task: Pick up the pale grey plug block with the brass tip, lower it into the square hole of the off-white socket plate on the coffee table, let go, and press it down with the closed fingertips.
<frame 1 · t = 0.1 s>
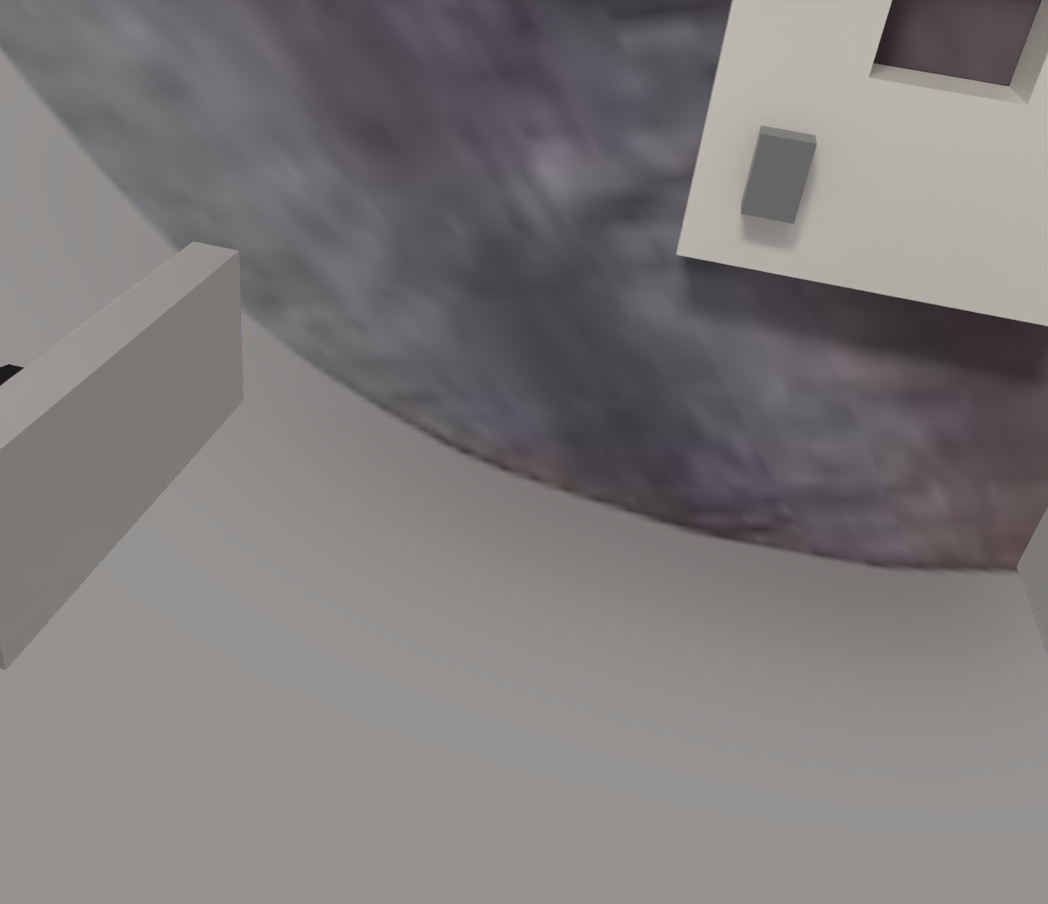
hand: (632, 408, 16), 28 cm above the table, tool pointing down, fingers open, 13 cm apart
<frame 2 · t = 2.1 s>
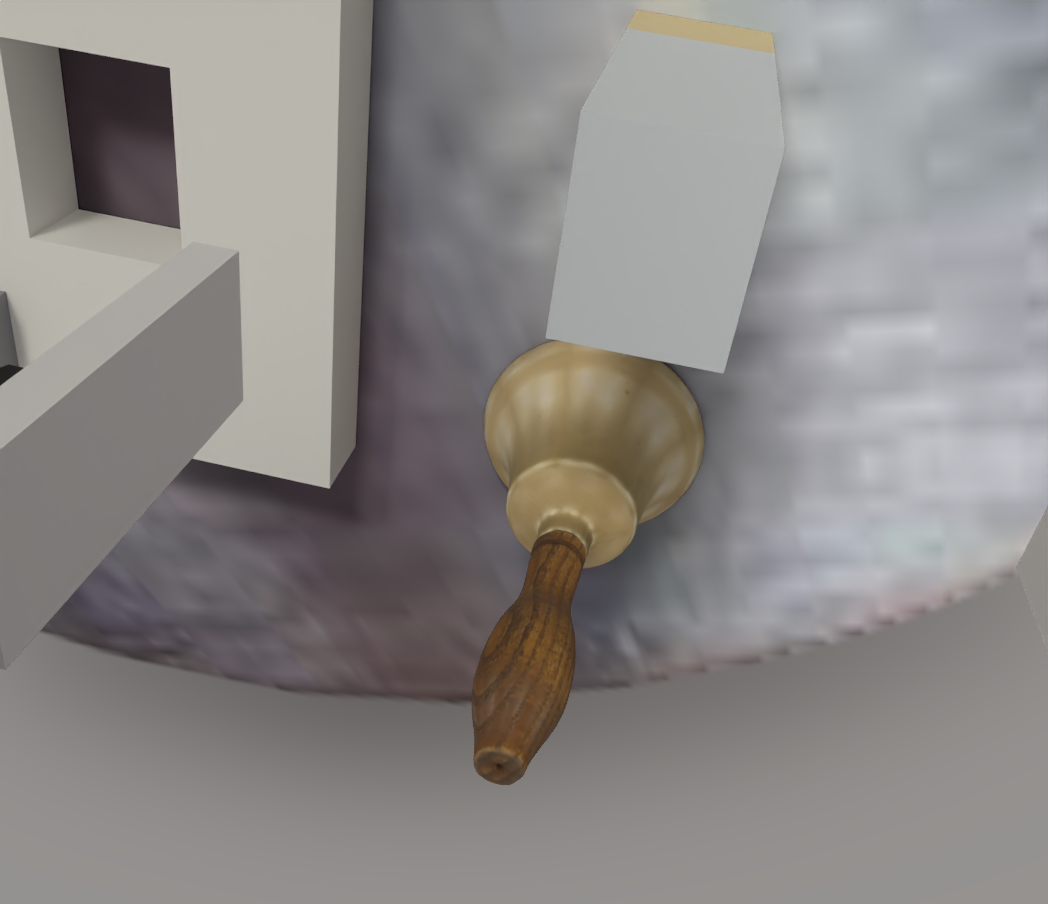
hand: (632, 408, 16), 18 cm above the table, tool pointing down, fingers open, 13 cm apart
hand bell: (592, 432, 38), on the table
socket plate: (142, 133, 34), on the table
plug: (685, 108, 31), on the table
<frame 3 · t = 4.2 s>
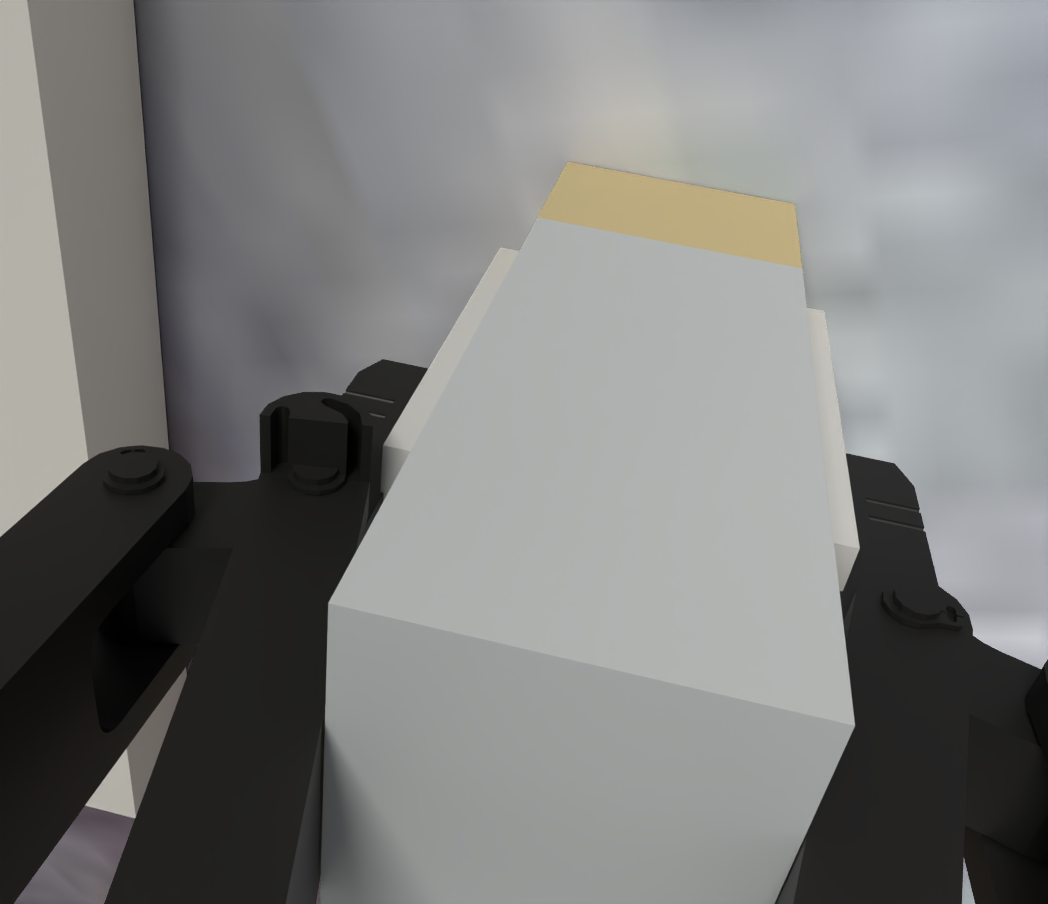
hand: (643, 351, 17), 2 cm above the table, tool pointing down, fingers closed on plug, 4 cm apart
plug: (651, 312, 19), on the table, touching gripper
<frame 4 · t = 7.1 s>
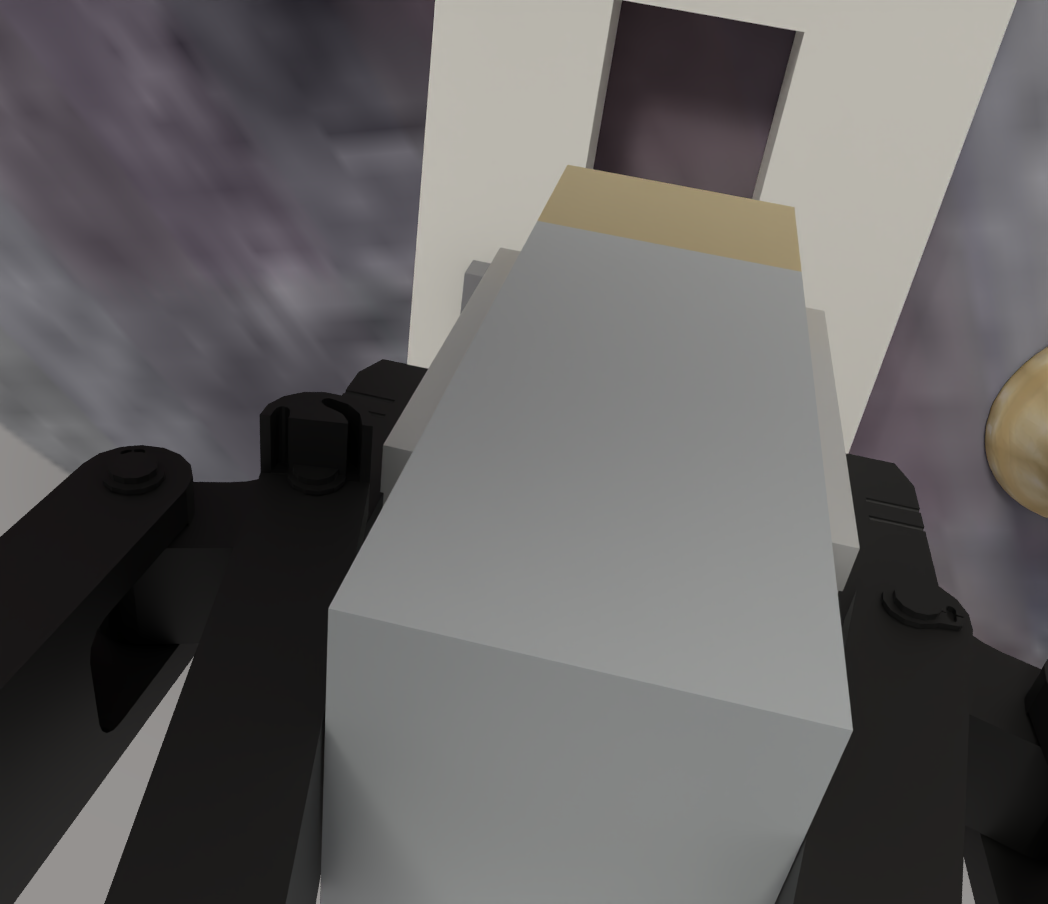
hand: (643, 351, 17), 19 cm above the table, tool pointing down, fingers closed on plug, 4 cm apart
socket plate: (688, 106, 33), on the table
plug: (651, 315, 19), point 17 cm above the table, touching gripper
when the fingers open (6 cm above the table, at t = 10.1 s): plug drops 4 cm, resting in socket plate.
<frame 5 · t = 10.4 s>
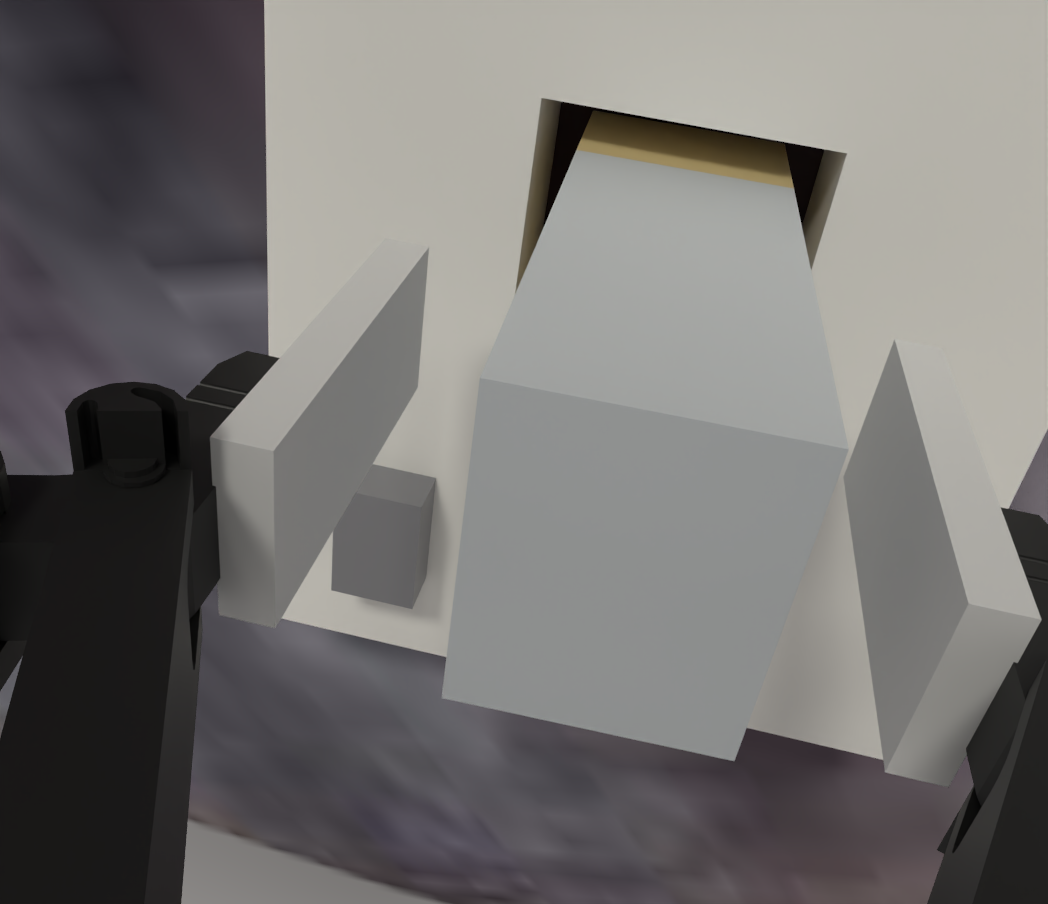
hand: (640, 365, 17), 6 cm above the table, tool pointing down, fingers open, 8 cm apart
socket plate: (666, 239, 22), on the table
plug: (663, 240, 22), resting in socket plate
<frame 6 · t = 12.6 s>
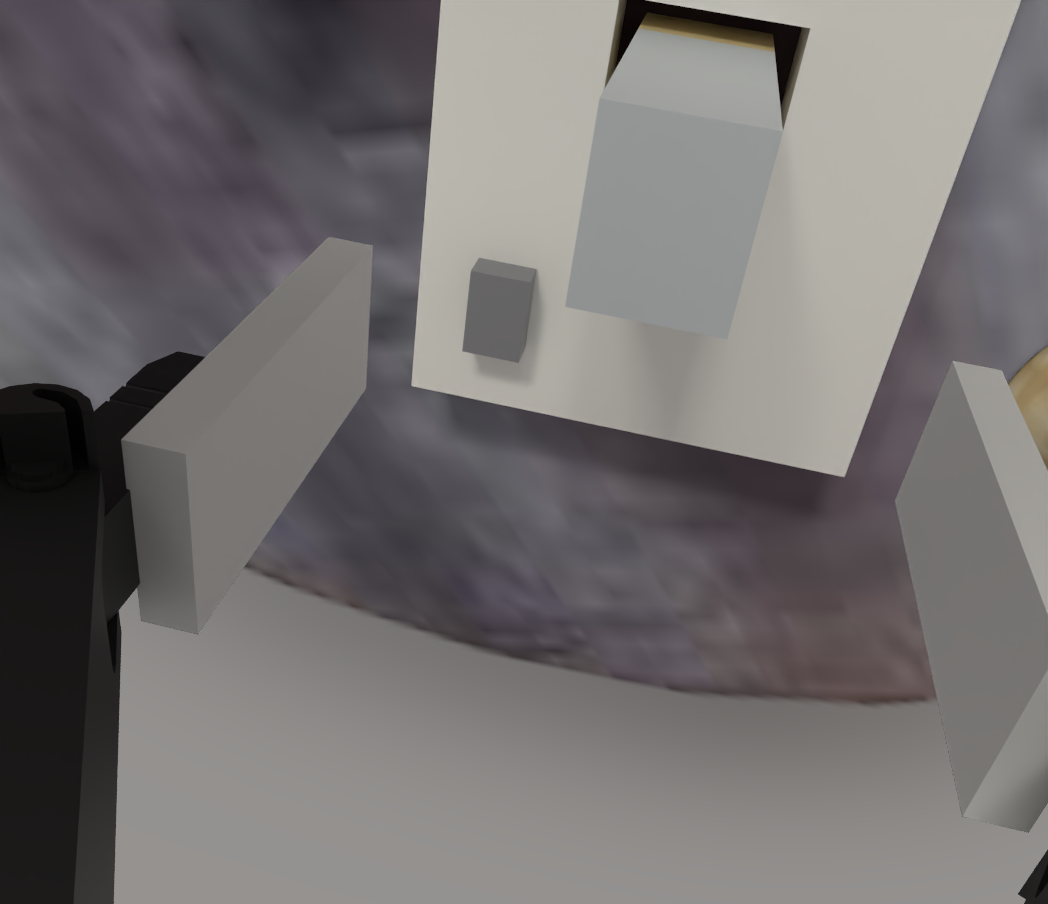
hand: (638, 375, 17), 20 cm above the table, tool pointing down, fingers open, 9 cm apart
socket plate: (694, 103, 33), on the table
plug: (692, 103, 33), resting in socket plate
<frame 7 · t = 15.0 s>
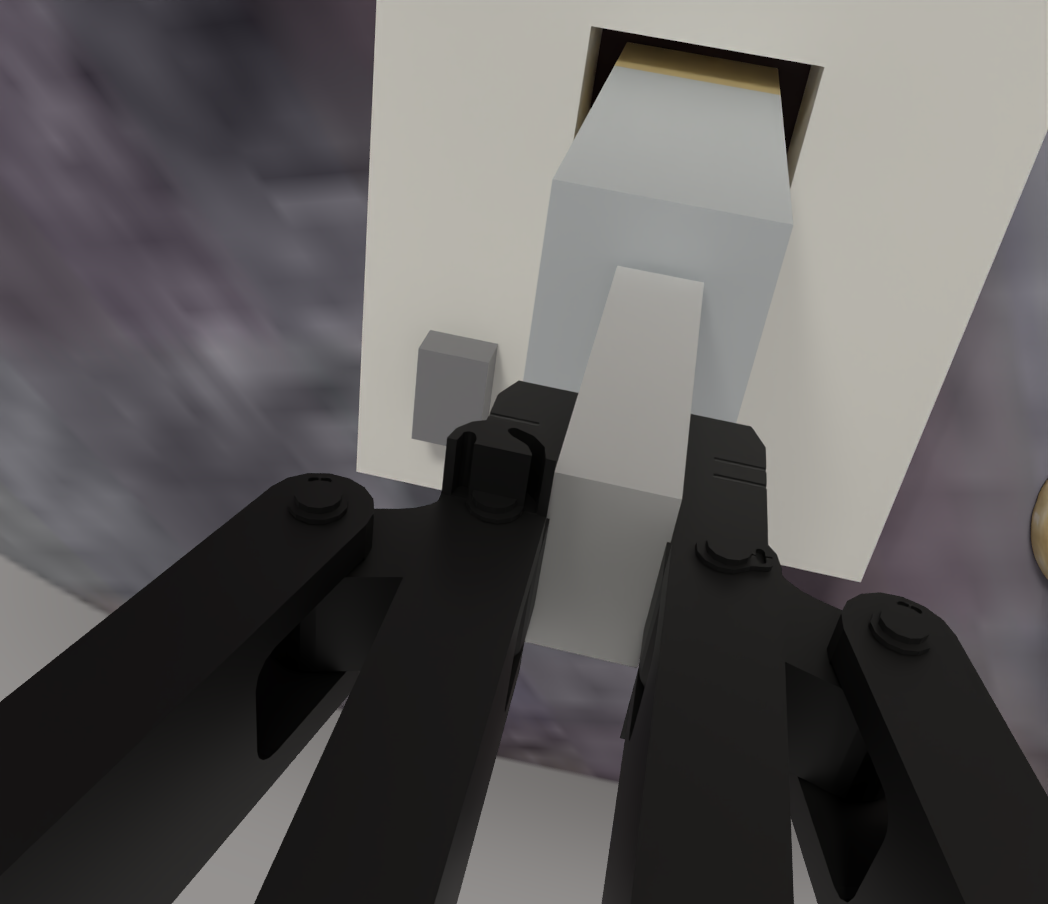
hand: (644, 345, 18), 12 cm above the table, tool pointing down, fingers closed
socket plate: (684, 149, 28), on the table
plug: (681, 149, 28), resting in socket plate, touching gripper
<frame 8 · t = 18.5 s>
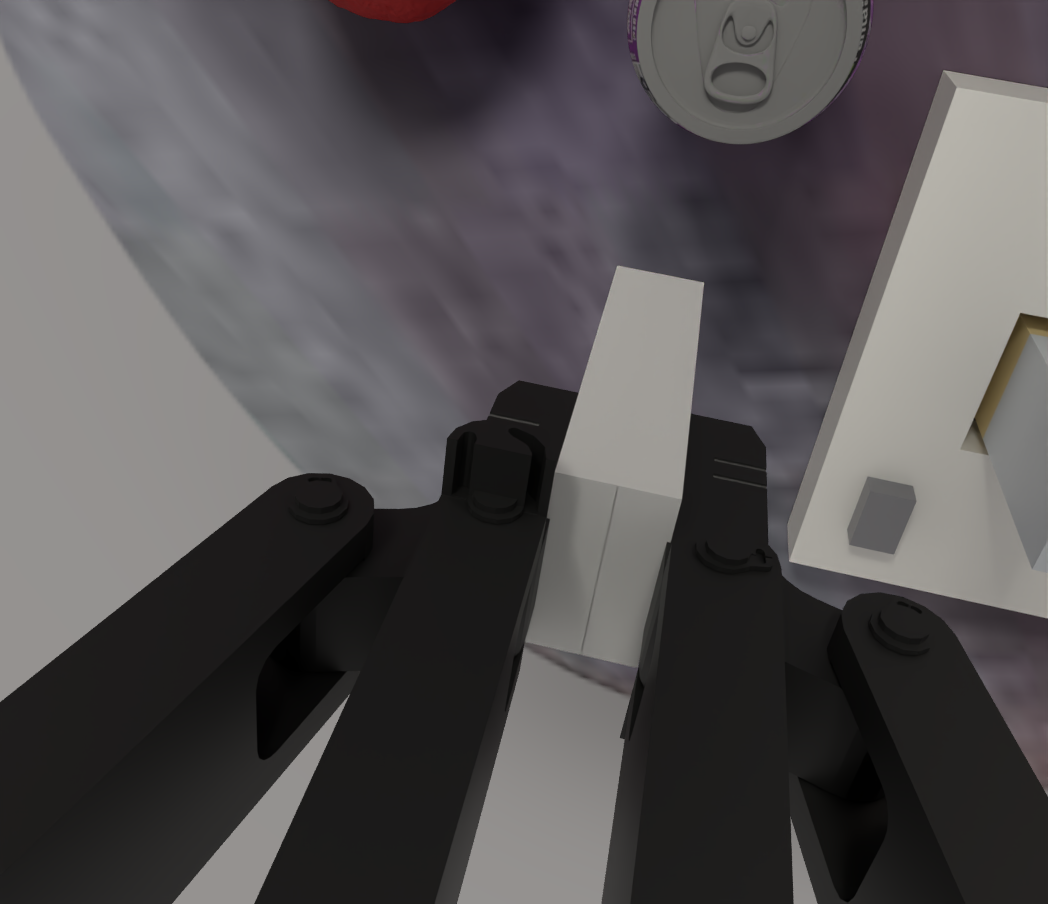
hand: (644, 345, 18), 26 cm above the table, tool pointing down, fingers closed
socket plate: (1039, 364, 44), on the table
plug: (1037, 365, 44), resting in socket plate
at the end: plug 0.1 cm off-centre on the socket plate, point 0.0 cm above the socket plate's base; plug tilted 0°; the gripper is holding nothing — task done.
